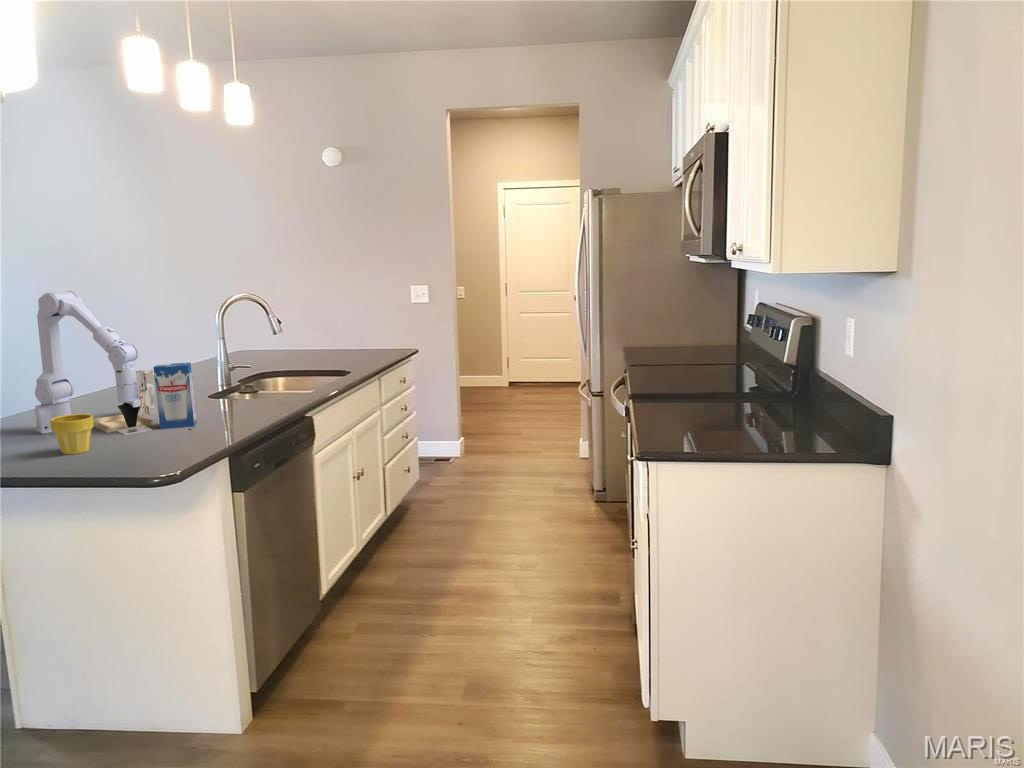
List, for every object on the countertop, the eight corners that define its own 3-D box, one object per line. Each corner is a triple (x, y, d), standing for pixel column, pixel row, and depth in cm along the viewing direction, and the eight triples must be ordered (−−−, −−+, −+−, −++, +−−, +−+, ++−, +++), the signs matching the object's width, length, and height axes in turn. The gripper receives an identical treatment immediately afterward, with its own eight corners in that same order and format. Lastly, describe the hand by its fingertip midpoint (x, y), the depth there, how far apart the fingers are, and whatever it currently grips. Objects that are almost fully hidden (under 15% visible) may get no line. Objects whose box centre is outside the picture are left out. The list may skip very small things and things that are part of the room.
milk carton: (160, 431, 233) (153, 367, 229) (163, 426, 239) (156, 364, 235) (194, 428, 236) (188, 365, 232) (197, 423, 242) (191, 362, 238)
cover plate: (124, 438, 227) (124, 433, 226) (117, 435, 232) (116, 430, 231) (152, 433, 232) (151, 428, 232) (144, 430, 237) (143, 425, 237)
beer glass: (134, 417, 253) (129, 373, 251) (136, 413, 260) (131, 370, 257) (157, 415, 256) (152, 371, 253) (158, 411, 262) (153, 369, 260)
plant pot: (104, 445, 216) (99, 412, 215) (85, 455, 206) (80, 420, 205) (67, 447, 216) (62, 413, 214) (46, 457, 206) (41, 422, 204)
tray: (107, 434, 230) (106, 427, 230) (90, 426, 242) (89, 419, 241) (153, 426, 239) (152, 419, 239) (135, 419, 251) (134, 412, 251)
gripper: (148, 384, 228) (153, 428, 231) (132, 379, 239) (137, 421, 241) (123, 387, 224) (129, 432, 226) (108, 382, 234) (113, 425, 236)
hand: (131, 426), depth 233 cm, fingers closed
